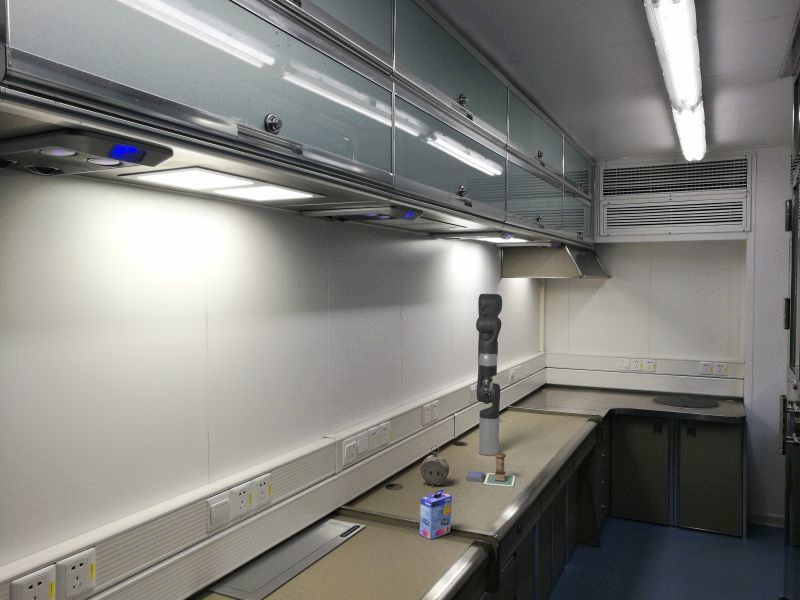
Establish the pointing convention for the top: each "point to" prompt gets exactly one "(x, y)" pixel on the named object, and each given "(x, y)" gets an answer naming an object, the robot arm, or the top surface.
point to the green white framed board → (507, 482)
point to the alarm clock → (434, 469)
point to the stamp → (500, 467)
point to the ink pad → (475, 476)
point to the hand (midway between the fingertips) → (487, 401)
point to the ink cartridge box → (435, 514)
